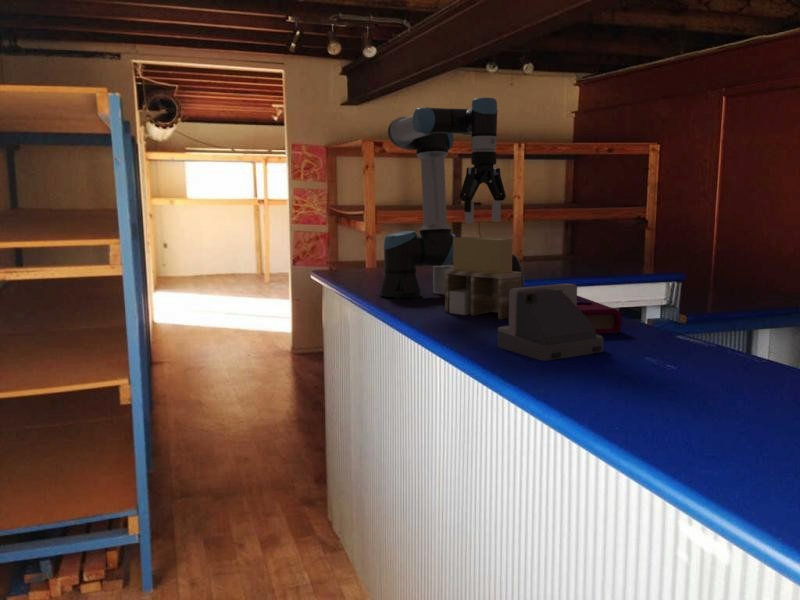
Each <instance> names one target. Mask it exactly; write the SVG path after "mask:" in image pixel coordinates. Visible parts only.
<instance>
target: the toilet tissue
mask: <svg viewBox="0 0 800 600" xmlns="http://www.w3.org/2000/svg"><path fill="white" fill-rule="evenodd" d="M449 269H453V264H449V265H442V266H432V271H433V272H432V274H433V275H432V277H433V278H432V293H433V294H435V295H445V270H449Z"/></svg>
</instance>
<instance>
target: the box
mask: <svg viewBox="0 0 800 600" xmlns="http://www.w3.org/2000/svg"><path fill="white" fill-rule="evenodd" d="M448 313H449V314H455V315H461V316H467V315H471V289H466V288H465V289H459V290H453V291H450V296H449V312H448Z"/></svg>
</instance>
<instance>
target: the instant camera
mask: <svg viewBox="0 0 800 600" xmlns="http://www.w3.org/2000/svg"><path fill="white" fill-rule="evenodd" d="M577 296H578V286H577V284H575V283H570V282H569V283H556V284H554V283H553V284H546V285H545V284H544V285H533V286H524V287H520V288H512V289H510V292H509V318H508V325H503V326H499V327H497V347H498V348H500V349H503V350H506V351H508V352H509V351H510V352H513V353H515V354H519V355H523V356H525V357H528V358H532V359H536V360H538V361H539V360H540V361H553V360H560V359H567V358H572V357H573V358H574V357H579V356H586V355H592V354H593V355H594V354H599V353H602V352H604V337H603V336H602V335H601V334H596V332H595V328H594V326H593V324H592V323H591V322H590V321H589V319H588V318H587V317H586V316H585V315H584V314H583V313H582V312H581V311H580V310H579V309H578V307H577Z"/></svg>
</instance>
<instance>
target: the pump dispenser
mask: <svg viewBox="0 0 800 600" xmlns="http://www.w3.org/2000/svg"><path fill="white" fill-rule="evenodd" d="M512 271H515V272H522V279H521V287H525V279H524V272H523V268H522V265H521V263H520V260H519V258H518V257H517V255H515V254H513V253H512Z"/></svg>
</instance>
